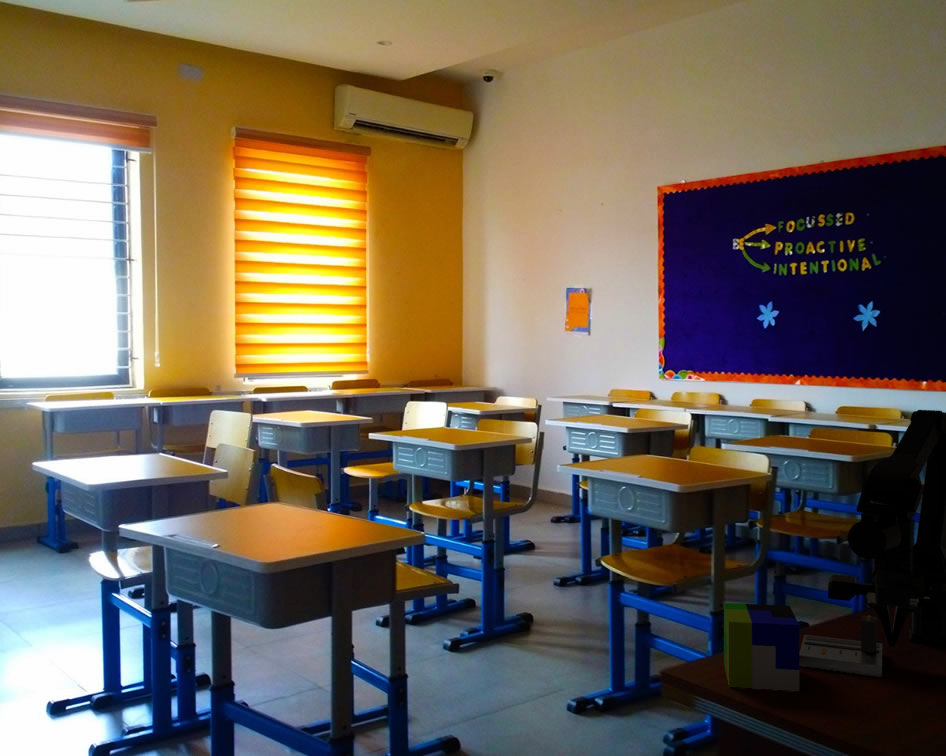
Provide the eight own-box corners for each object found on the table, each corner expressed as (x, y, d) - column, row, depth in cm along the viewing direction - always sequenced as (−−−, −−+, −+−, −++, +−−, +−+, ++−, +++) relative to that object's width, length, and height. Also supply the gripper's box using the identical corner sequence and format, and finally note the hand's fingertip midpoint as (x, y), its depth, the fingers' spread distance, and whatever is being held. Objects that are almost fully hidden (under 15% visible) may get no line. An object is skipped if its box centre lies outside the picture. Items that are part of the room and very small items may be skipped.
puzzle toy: (799, 692, 132) (799, 625, 132) (728, 688, 134) (728, 621, 134) (789, 668, 142) (789, 605, 142) (724, 664, 144) (723, 602, 144)
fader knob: (861, 644, 146) (861, 614, 146) (876, 646, 145) (876, 615, 145) (861, 651, 143) (861, 619, 143) (876, 652, 142) (876, 621, 142)
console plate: (804, 645, 153) (804, 634, 153) (882, 654, 148) (882, 642, 148) (798, 666, 143) (798, 654, 143) (881, 677, 138) (881, 664, 138)
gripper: (826, 554, 139) (826, 654, 139) (963, 564, 131) (963, 670, 132) (830, 539, 149) (829, 633, 149) (958, 548, 141) (957, 647, 142)
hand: (892, 645), depth 143 cm, fingers closed
